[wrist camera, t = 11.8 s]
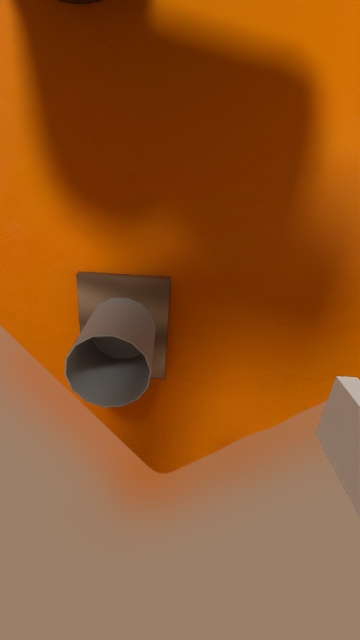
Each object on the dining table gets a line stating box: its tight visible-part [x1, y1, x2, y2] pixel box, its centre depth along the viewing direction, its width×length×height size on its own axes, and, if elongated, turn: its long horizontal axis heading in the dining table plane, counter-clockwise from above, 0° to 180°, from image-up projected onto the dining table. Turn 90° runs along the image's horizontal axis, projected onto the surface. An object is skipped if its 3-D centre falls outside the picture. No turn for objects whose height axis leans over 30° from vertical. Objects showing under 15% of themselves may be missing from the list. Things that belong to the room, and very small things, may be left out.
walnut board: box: [76, 272, 171, 379], centre depth 41 cm, size 14×11×1 cm
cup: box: [64, 298, 156, 407], centre depth 35 cm, size 8×8×10 cm
